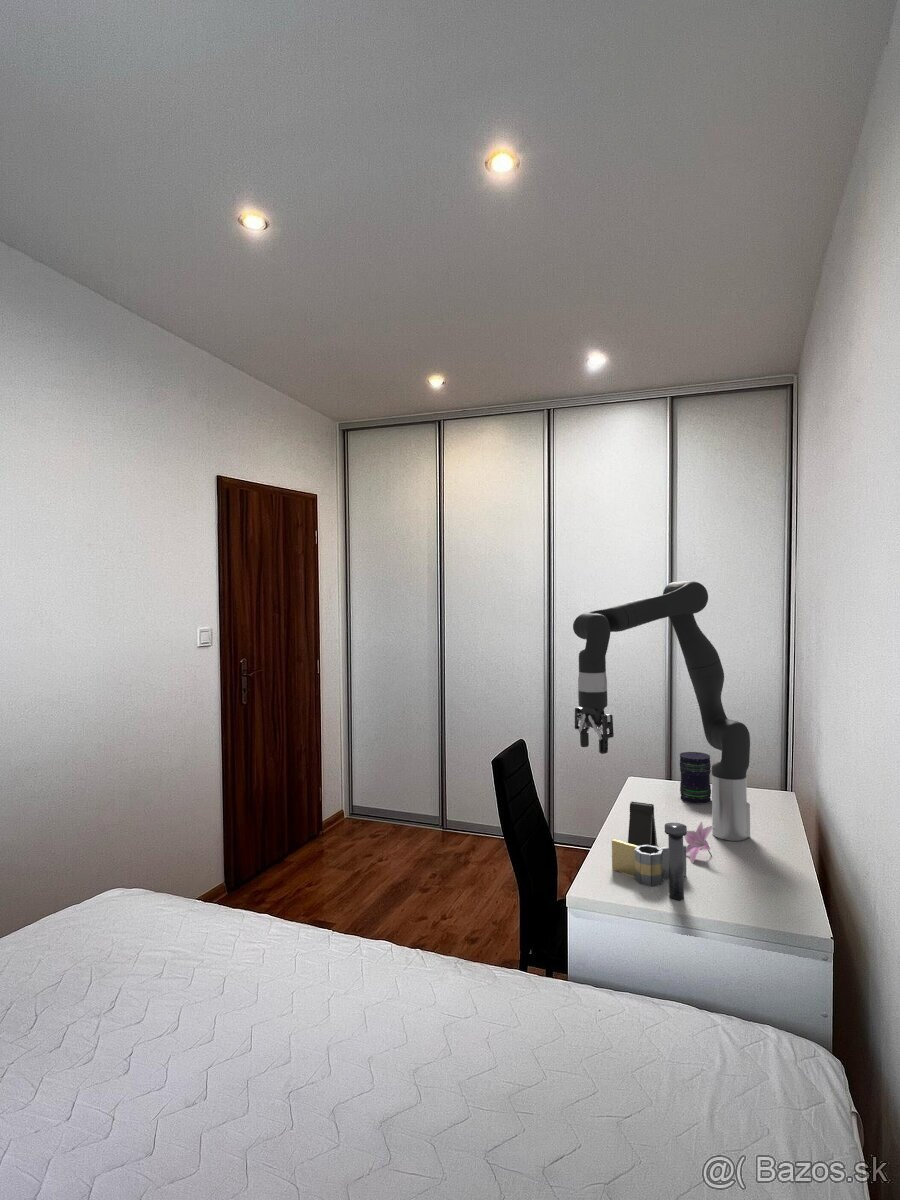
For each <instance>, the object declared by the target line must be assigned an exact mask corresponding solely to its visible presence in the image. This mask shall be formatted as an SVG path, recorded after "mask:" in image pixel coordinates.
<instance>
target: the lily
mask: <svg viewBox="0 0 900 1200" xmlns="http://www.w3.org/2000/svg"><path fill="white" fill-rule="evenodd" d="M713 827H714V826H712V825H709V826H707V827H704V824H703V821H700V823H699V824H698V826H697V829H696V830H687V834H686V835H685V836H683V839H684V840H685V841H686V843H687V844H688V845H686V855H687V854H689V861H690V863H691V864H693V863H694V862H695V860H696V858H697V855H698V854H699V852H700V851H706V852H707V851H708V854H709V855H710V857H713V855H712V852H711V847H710V845H709V842H708V841H707V838H708V837H709V835H710V833H711V832H712V829H713Z"/></svg>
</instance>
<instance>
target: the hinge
mask: <svg viewBox="0 0 900 1200" xmlns="http://www.w3.org/2000/svg"><path fill="white" fill-rule="evenodd" d="M686 847H687V845H685V844H683V866H684V878H685V877H687V854H686ZM611 868H612V871H616V872H619V873H622V874H624V875H626V876H627V875H628V876H631V877H634V880H635V881H636V882H637V883H638V884H640V885H642V886H648V887H657V886H662V884H663V882H664V880H669V845H668V846H662V847H658V846H657V845H655V846H651V845H640V846H636V845H633V844H629V843H628V842H625V841H622V840H618V839H615V838H614V839H612V840H611Z"/></svg>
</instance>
